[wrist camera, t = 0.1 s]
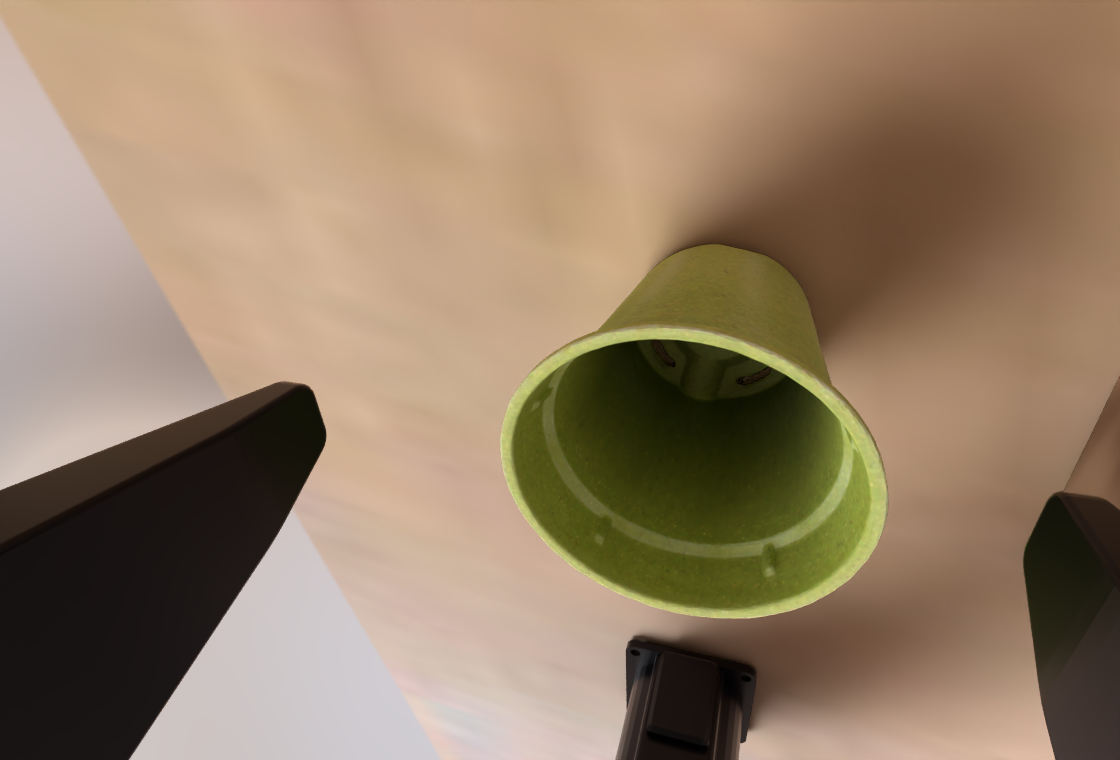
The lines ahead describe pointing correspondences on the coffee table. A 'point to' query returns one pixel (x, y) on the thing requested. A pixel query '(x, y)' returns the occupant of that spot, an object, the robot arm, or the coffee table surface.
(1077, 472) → the walnut base
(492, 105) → the coffee table surface
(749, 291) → the plant pot
